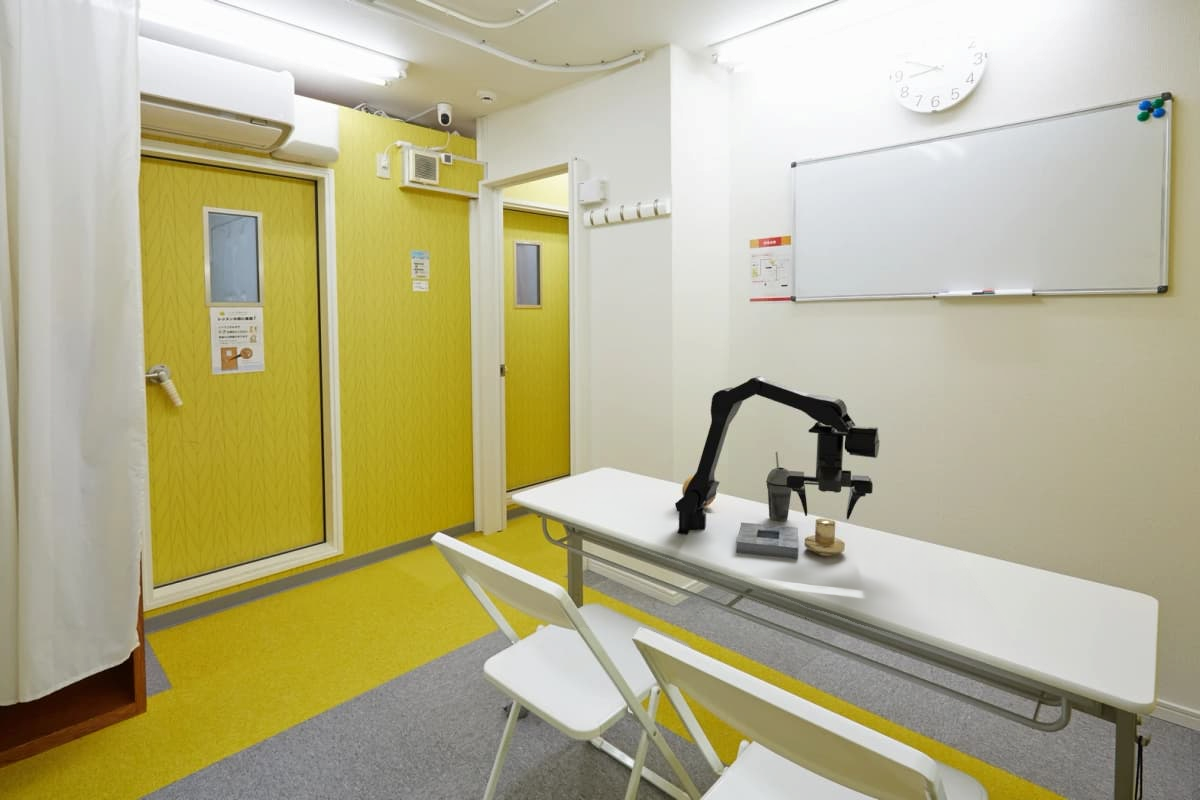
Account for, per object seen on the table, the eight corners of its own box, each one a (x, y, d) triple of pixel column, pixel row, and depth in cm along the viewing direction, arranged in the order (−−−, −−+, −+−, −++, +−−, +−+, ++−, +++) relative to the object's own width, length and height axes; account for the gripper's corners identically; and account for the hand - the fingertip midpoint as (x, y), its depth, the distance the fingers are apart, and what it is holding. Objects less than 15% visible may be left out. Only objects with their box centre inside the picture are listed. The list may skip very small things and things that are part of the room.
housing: (736, 557, 153) (736, 541, 153) (740, 537, 167) (741, 522, 166) (797, 564, 149) (798, 547, 149) (797, 542, 163) (797, 527, 162)
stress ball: (685, 505, 196) (669, 490, 190) (704, 479, 197) (689, 463, 191) (709, 519, 188) (693, 503, 182) (728, 492, 190) (712, 475, 183)
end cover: (804, 562, 150) (805, 526, 149) (803, 548, 159) (805, 514, 157) (845, 567, 148) (847, 529, 146) (842, 552, 156) (844, 517, 155)
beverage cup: (793, 528, 173) (796, 455, 170) (765, 526, 174) (767, 454, 171) (790, 519, 180) (793, 449, 177) (763, 517, 181) (766, 448, 178)
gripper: (787, 458, 144) (784, 524, 147) (877, 463, 139) (873, 532, 141) (788, 447, 155) (785, 509, 157) (871, 452, 150) (867, 516, 152)
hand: (826, 517), depth 152 cm, fingers open, 9 cm apart
